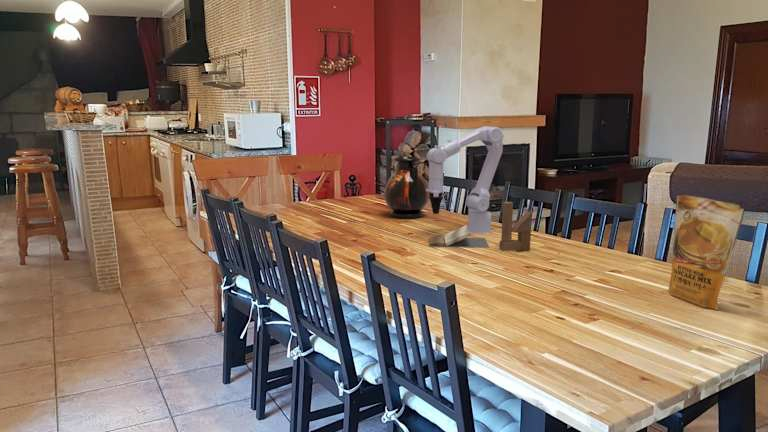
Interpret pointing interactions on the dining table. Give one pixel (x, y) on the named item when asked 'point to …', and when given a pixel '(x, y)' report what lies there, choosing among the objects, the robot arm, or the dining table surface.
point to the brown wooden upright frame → (515, 230)
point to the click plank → (456, 235)
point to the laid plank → (436, 240)
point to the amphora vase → (406, 189)
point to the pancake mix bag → (702, 248)
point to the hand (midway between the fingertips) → (435, 211)
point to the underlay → (469, 243)
